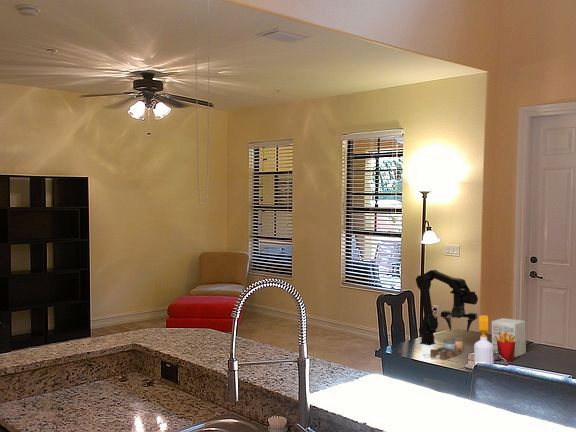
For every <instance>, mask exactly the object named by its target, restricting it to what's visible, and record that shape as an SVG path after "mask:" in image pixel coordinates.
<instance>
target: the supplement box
mask: <svg viewBox="0 0 576 432" xmlns="http://www.w3.org/2000/svg"><path fill="white" fill-rule="evenodd" d="M499 331H501V336H502V334H504V333H505V332H507V333H508V334H509V337H510V334H512V336H511V338H512V337H513V336H515V339H514V342H515V350H514V358H518V357H519V356H522V355H524V354H526V353H527V351H526V349H527V348H526V344H527V343H526V341H527V339H526V337H527V336H526V333H527V332H526V320H521V319H520V320H519V319H513V318H504V317H502V318H498V319H495V320H491V343H492V344H493V351H495V352H498V347H497V341H498V340H497V339H496V338H495V335H496V336H497V338H498V339H499V340H500V338H499ZM507 338H508V336H506V339H507Z"/></svg>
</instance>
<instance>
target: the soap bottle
mask: <svg viewBox="0 0 576 432" xmlns="http://www.w3.org/2000/svg"><path fill="white" fill-rule="evenodd" d="M478 318H479V319H478V323H479V324H478V326H479V327H478V329H479V330H478V331H479V332H480V333H481V335H479V338H480V339H479V340H478V341H476V342H475V343H474V345H473V349H474V350H473V354H474V355H473V357H474V358H473V359H474V360H473V363H476V362H487V363H494V354H493V344H492V342H490V341H489V340H488V335H486V334H487V333H488V332H489V316H488V315H484V314H483V315H482V314H481V315H478ZM494 364H495V363H494Z"/></svg>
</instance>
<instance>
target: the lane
mask: <svg viewBox="0 0 576 432" xmlns="http://www.w3.org/2000/svg"><path fill="white" fill-rule="evenodd" d="M442 347H443V348H444V346H442ZM439 352H440V354H439ZM429 354H430V355H429V356H430V358H433V359H436V358H437V356H439V360H443V361H444V360H449V359H452V358H454V357H458V356H460V355H462V352H461V348H459V349H456V350H453V351H450V352H447V353H445V352H444V351H440V347H438V348H435V349H430V353H429Z"/></svg>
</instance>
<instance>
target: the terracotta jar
mask: <svg viewBox="0 0 576 432" xmlns="http://www.w3.org/2000/svg"><path fill="white" fill-rule="evenodd" d="M451 340H455V350H456V349H459V348H461V353H463V352H464V349H463V348H464V338H463V337H459V336H453V337H451Z"/></svg>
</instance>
